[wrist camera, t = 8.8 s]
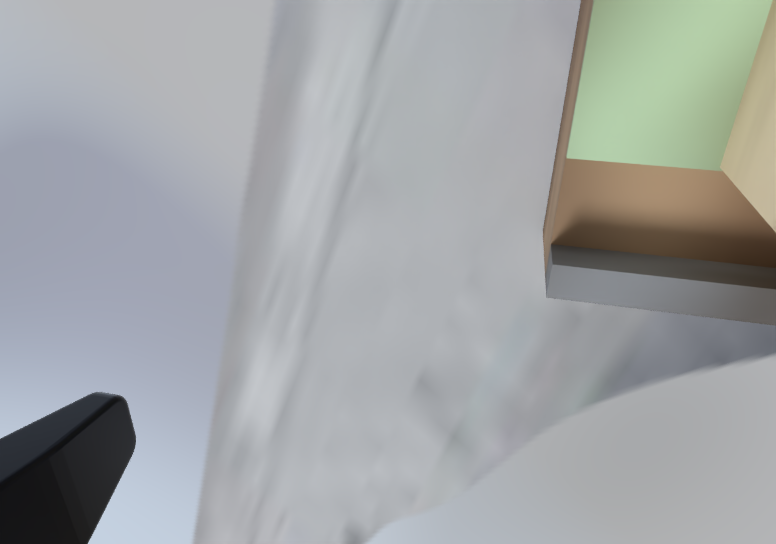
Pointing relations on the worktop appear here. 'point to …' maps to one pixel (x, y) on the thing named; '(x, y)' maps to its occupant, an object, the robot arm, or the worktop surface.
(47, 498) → the robot arm
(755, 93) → the tan green-striped carton
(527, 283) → the worktop surface
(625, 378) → the worktop surface
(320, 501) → the worktop surface
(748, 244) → the open box
